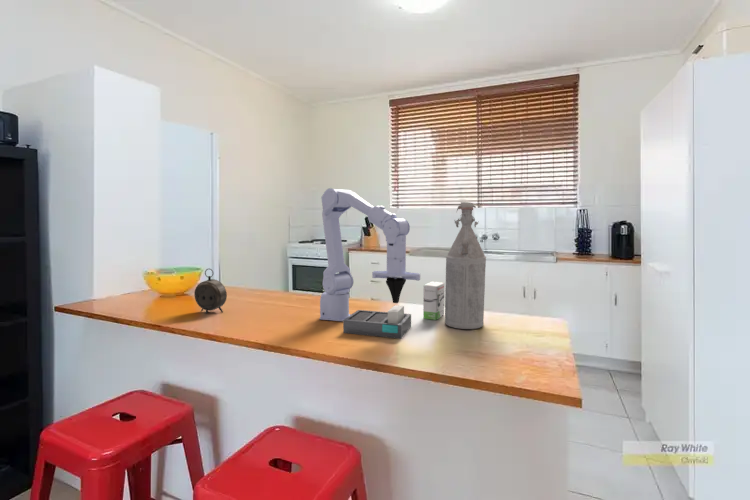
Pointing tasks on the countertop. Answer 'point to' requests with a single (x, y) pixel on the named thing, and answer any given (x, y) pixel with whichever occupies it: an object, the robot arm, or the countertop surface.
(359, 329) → the rack
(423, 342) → the countertop surface
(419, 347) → the countertop surface
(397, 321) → the block
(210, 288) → the alarm clock
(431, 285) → the ink box
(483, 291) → the grey bottle
